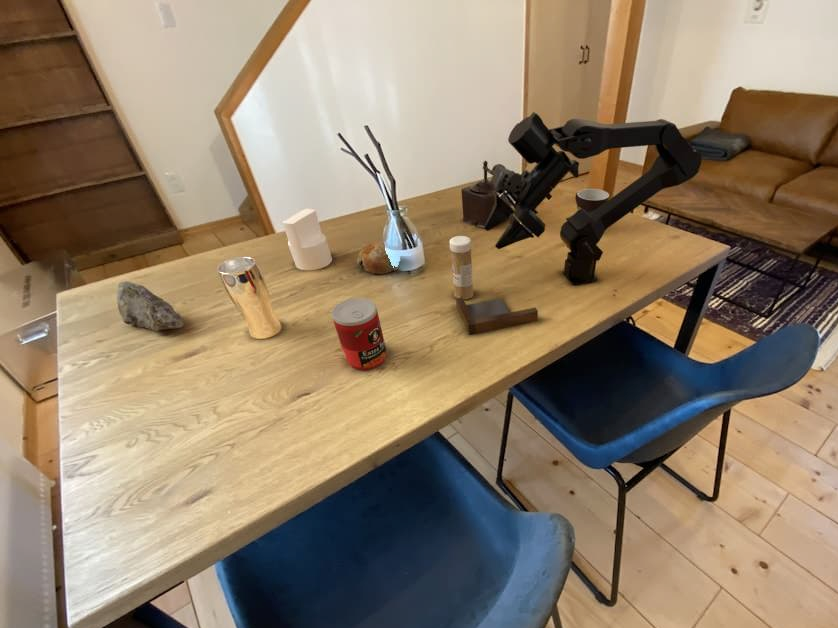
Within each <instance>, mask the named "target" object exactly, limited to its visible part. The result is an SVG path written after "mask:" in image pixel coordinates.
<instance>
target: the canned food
mask: <svg viewBox="0 0 838 628" xmlns="http://www.w3.org/2000/svg"><path fill="white" fill-rule="evenodd" d="M331 318H332V322H333V324H334V327H335V330H336V335H337V336H338V340H339V343H340V346H341V349H342V352H343V354H344V358H345V361H346V362H347V364H348V365H349V366H350V367H351V368H353V369H355V370H358V371H368V370H372V369H373V370H374V369H375V368H377V367H379V366H381V365H382V364H383V363H384V362H385V361H386V359H387V346H386V342H385V337H384V334H383V330H382V329H383V328H382V326H381V325H382V323H381V321H380V320H381V319H380V315H379V313H378V309H377V306H376V304H375V303H374V302H373V301H372V300H370V299H368V298H362V297H361V298H360V297H359V298H358V297H357V298H356V297H355V298H349V299H346V300H343V301H340V302H339V303H336V305H335V306H334V307H333V308H332V309H331Z"/></svg>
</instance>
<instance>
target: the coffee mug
mask: <svg viewBox="0 0 838 628" xmlns="http://www.w3.org/2000/svg"><path fill="white" fill-rule="evenodd" d="M609 198H610V194H609V192H607V191H606V190H603V189H598V188H585V189H581V190H579V191H577V192H576V193H575V203H576V212H577V211H578V210H580V209H583V210H584V211H585V212H586V213H588V212H592V211H594V210H596V209H597V208H599V207H600V206H601V205H603V204H604V203H605V202H607V201H608V200H609Z"/></svg>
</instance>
